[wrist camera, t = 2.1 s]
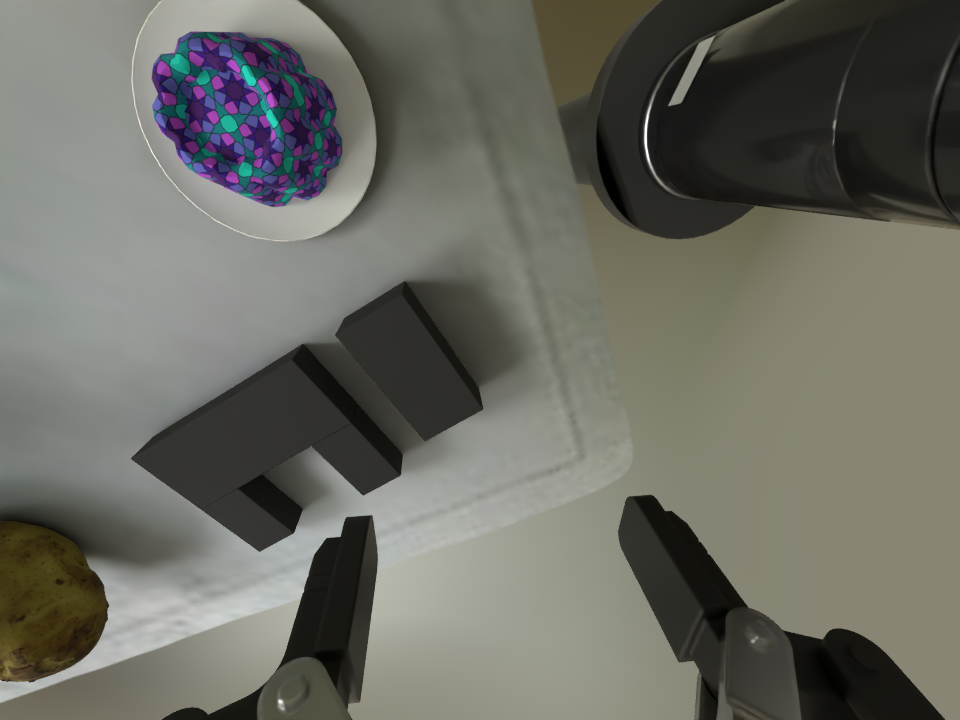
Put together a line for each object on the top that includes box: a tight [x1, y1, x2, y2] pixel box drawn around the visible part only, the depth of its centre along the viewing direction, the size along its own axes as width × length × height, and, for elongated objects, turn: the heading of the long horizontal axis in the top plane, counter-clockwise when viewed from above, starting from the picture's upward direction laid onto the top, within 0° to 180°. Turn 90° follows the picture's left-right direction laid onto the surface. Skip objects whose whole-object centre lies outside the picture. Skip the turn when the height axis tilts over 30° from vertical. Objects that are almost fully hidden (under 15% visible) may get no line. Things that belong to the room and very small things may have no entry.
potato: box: [0, 521, 109, 682], centre depth 29 cm, size 8×13×8 cm, turn 21°
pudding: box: [131, 0, 377, 242], centre depth 19 cm, size 12×12×5 cm
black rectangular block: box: [336, 281, 483, 441], centre depth 27 cm, size 5×10×3 cm, turn 30°
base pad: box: [131, 344, 403, 552], centre depth 30 cm, size 14×12×2 cm
